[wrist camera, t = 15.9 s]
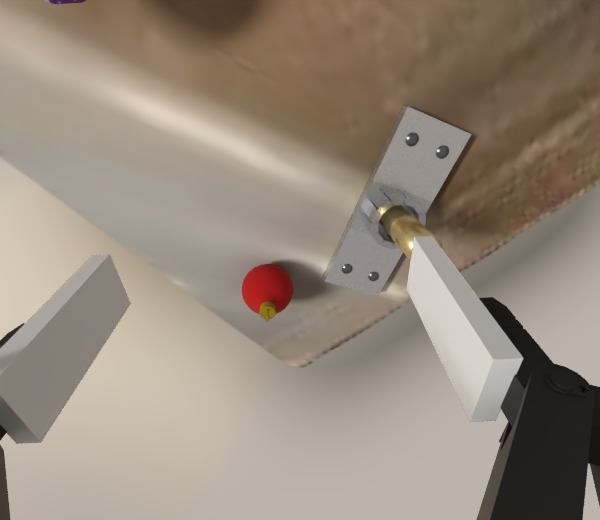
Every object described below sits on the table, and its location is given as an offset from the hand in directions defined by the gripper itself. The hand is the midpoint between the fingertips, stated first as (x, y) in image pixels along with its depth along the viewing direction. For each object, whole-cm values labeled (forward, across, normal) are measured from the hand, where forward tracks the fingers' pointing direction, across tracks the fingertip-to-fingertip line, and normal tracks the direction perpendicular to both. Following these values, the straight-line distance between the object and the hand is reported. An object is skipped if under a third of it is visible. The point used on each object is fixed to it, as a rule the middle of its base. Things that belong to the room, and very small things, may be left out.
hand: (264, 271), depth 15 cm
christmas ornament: (+28, -4, -20) cm, 35 cm away
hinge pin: (+28, +14, -11) cm, 33 cm away
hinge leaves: (+30, +14, -11) cm, 35 cm away
